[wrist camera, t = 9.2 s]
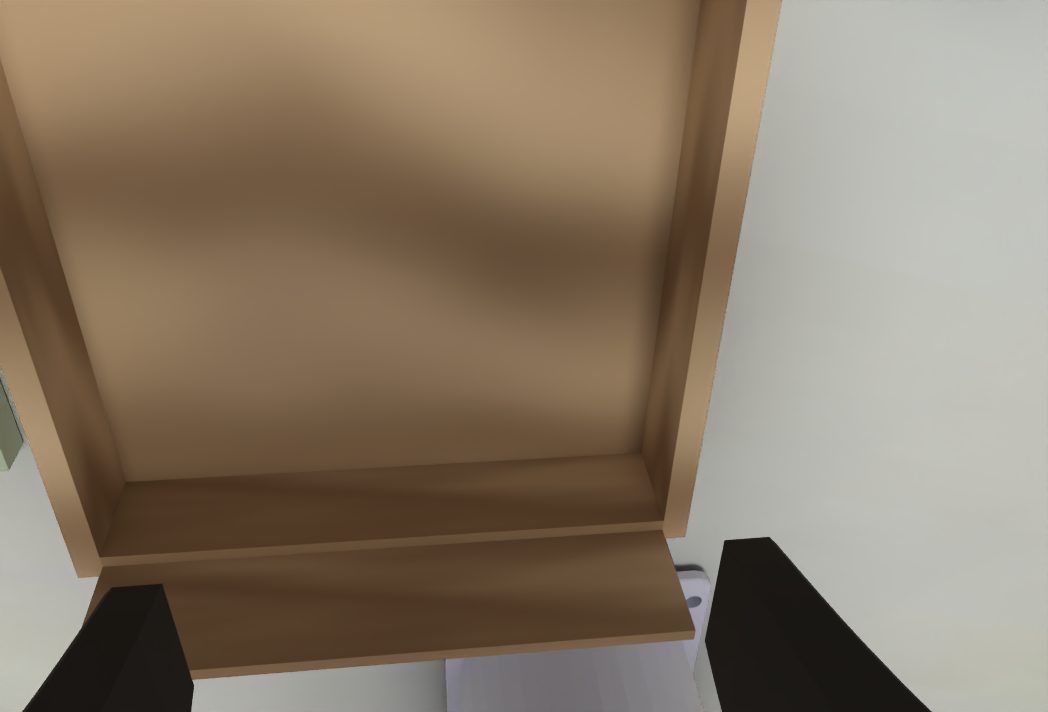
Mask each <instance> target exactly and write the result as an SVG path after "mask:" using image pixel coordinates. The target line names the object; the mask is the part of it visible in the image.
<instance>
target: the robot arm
mask: <svg viewBox="0 0 1048 712" xmlns="http://www.w3.org/2000/svg"><path fill="white" fill-rule="evenodd" d="M677 575H678V578H679V581H680V584H681V587H682V590H683V593H684V596H685V599H686V602H687V605H688V608H689V611H690V614H691V617H692V620H693V623H694V626H695V629H696V632H695V637H694V639H693V640H681V641H668V642H656V643H644V644H631V645H619V646H606V647H594V648H581V649H569V650H556V651H544V652H531V653H519V654H506V655H494V656H482V657H469V658H457V659H445V665H446V694H447V712H704V711H703V708H702V704H701V701H700V698H699V695H698V692H697V688H696V685H695V682H694V679H693V671H694V666H695V662H696V657H697V652H698V648H699V643H700V638H701V633H702V629H703V624H704V619H705V615H706V610H707V605H708V601H709V596H710V591H711V583H710V581H709V578H708V576H707V575H706V573H704V572H702V571H694V570H693V571H679V572H677ZM705 643H706V648H707V652H708V656H709V661H710V665H711V669H712V673H713V678H714V682H715V686H716V690H717V694H718V698H719V701H720V705H721V709H722V712H931V711H930V710H929V709H928V708H927V707H926V706H925V705H924V704H923V703H922V702H921V701H920V700H919V699H918V698H917V697H916V696H915V695H914V694H913V693H912V692H911V691H910V690H909V689H908V688H907V687H906V686H905V685H904V684H903V683H902V682H901V681H900V680H899V679H898V678H897V677H896V676H895V675H894V674H893V673H892V672H891V671H890V670H889V669H888V667H887V666H886V665H885V664H884V663H883V662H882V661H881V660H880V659H879V658H878V657H877V656H876V655H875V654H874V653H873V652H872V651H871V650H870V649H869V648H868V647H867V645H866V644H865V643H864V642H863V641H862V640H861V639H860V638H859V637H858V636H857V635H856V634H855V633H854V632H853V630H852V629H851V628H850V627H849V626H848V625H847V624H846V623H845V622H844V621H843V620H842V618H841V617H840V616H839V615H838V614H837V613H836V612H835V611H834V609H833V608H832V607H831V606H830V605H829V604H828V603H827V602H826V600H825V599H824V598H823V597H822V596H821V595H820V594H819V593H818V591H817V590H816V589H815V588H814V587H813V586H812V585H811V583H810V582H809V581H808V580H807V579H806V578H805V577H804V575H803V574H802V573H801V572H800V571H799V570H798V568H797V567H796V566H795V565H794V564H793V563H792V561H791V560H790V559H789V558H788V557H787V556H786V554H785V553H784V552H783V551H782V550H781V549H780V548H779V546H778V545H777V544H776V543H775V542H774V541H773V540H772V539H771V538H770V537H762V538H749V539H736V540H725V541H724V546H723V551H722V556H721V561H720V566H719V571H718V576H717V581H716V587H715V592H714V597H713V602H712V607H711V612H710V617H709V622H708V627H707V632H706V637H705ZM193 690H194V684H193V681H192V678H191V674H190V671H189V668H188V665H187V662H186V658H185V655H184V652H183V649H182V645H181V642H180V639H179V636H178V633H177V629H176V626H175V623H174V620H173V616H172V613H171V610H170V607H169V603H168V600H167V597H166V594H165V591H164V587H163V584H150V585H137V586H124V587H112V588H111V589H110V590H109V591H107V592H106V593H105V594H104V596H103V597H102V599H101V600H100V602H99V603H98V605H97V606H96V608H95V609H94V611H93V612H92V614H91V615H90V617H89V618H88V619H87V621H86V622H85V624H84V625H83V627H82V628H81V630H80V631H79V633H78V634H77V636H76V637H75V639H74V640H73V641H72V643H71V644H70V646H69V647H68V649H67V650H66V652H65V653H64V654H63V656H62V657H61V659H60V660H59V662H58V663H57V664H56V666H55V667H54V669H53V670H52V672H51V673H50V674H49V676H48V677H47V679H46V680H45V681H44V683H43V684H42V686H41V687H40V688H39V690H38V691H37V693H36V694H35V695H34V697H33V698H32V699H31V701H30V702H29V703H28V705H27V706H26V707H25V709H24V710H23V711H22V712H191V707H192V699H193Z"/></svg>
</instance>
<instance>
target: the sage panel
mask: <svg viewBox="0 0 1048 712" xmlns="http://www.w3.org/2000/svg"><path fill="white" fill-rule="evenodd" d="M22 444H23V441H22V438H21V436H20V433H19V430H18V428H17V425H16V422H15V419H14V417H13V414H12V411H11V409H10V406H9V403H8V401H7V398H6V395H5V393H4V390H3V387H2V384H1V382H0V471H9V470H10V468H11V466H12V464H13V462H14V460H15V458H16V456H17V454H18V452H19V450H20V448H21V446H22Z"/></svg>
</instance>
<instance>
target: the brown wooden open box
mask: <svg viewBox="0 0 1048 712" xmlns="http://www.w3.org/2000/svg"><path fill="white" fill-rule="evenodd" d="M781 3H782V0H0V366H1V369H2V371H3V374H4V377H5V380H6V382H7V385H8V388H9V390H10V393H11V396H12V399H13V401H14V404H15V407H16V410H17V412H18V415H19V418H20V420H21V423H22V426H23V429H24V431H25V434H26V437H27V440H28V442H29V445H30V448H31V450H32V453H33V456H34V459H35V461H36V464H37V467H38V469H39V472H40V475H41V478H42V480H43V483H44V486H45V489H46V491H47V494H48V497H49V499H50V502H51V505H52V508H53V510H54V513H55V516H56V519H57V521H58V524H59V527H60V529H61V532H62V535H63V538H64V540H65V543H66V546H67V549H68V551H69V554H70V557H71V559H72V562H73V565H74V568H75V570H76V573H77V576H78V578H83V577H98V576H99V579H98V582H97V585H96V588H95V591H94V594H93V596H92V599H91V602H90V605H89V608H88V611H87V614H86V617H85V620H84V623H83V625H84V624H85V622H86V621H87V619H88V618H89V617H90V615H91V614H92V612H93V611H94V609H95V608H96V606H97V605H98V603H99V602H100V600H101V599H102V597H103V596H104V594H105V593H106V592H107V591H109V590H110V589H111V588H112V587H124V586H137V585H150V584H163V587H164V591H165V594H166V597H167V600H168V603H169V607H170V610H171V613H172V616H173V620H174V623H175V626H176V629H177V633H178V636H179V639H180V642H181V645H182V649H183V652H184V655H185V658H186V662H187V665H188V668H189V671H190V674H191V678H192V680H195V679H207V678H220V677H232V676H245V675H257V674H270V673H282V672H295V671H307V670H319V669H332V668H344V667H357V666H369V665H382V664H394V663H407V662H419V661H432V660H444V659H457V658H469V657H482V656H494V655H506V654H519V653H531V652H544V651H556V650H569V649H581V648H594V647H606V646H619V645H631V644H644V643H656V642H668V641H681V640H693V639H694V637H695V632H696V629H695V626H694V623H693V620H692V617H691V614H690V611H689V608H688V605H687V602H686V599H685V596H684V593H683V590H682V587H681V584H680V581H679V578H678V575H677V572H676V569H675V566H674V563H673V560H672V557H671V554H670V551H669V548H668V545H667V542H666V539H665V538H677V537H685V534H686V529H687V523H688V518H689V512H690V507H691V501H692V496H693V490H694V485H695V479H696V474H697V468H698V462H699V457H700V451H701V446H702V440H703V435H704V429H705V424H706V418H707V413H708V407H709V402H710V396H711V391H712V385H713V379H714V374H715V368H716V363H717V357H718V352H719V346H720V341H721V335H722V330H723V324H724V319H725V313H726V307H727V302H728V296H729V291H730V285H731V280H732V274H733V269H734V263H735V258H736V252H737V247H738V241H739V235H740V230H741V224H742V219H743V213H744V208H745V202H746V197H747V191H748V186H749V180H750V175H751V169H752V163H753V158H754V152H755V147H756V141H757V136H758V130H759V125H760V119H761V114H762V108H763V103H764V97H765V91H766V86H767V80H768V75H769V69H770V64H771V58H772V53H773V47H774V42H775V36H776V31H777V25H778V19H779V14H780V8H781ZM82 627H83V626H82Z"/></svg>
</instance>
